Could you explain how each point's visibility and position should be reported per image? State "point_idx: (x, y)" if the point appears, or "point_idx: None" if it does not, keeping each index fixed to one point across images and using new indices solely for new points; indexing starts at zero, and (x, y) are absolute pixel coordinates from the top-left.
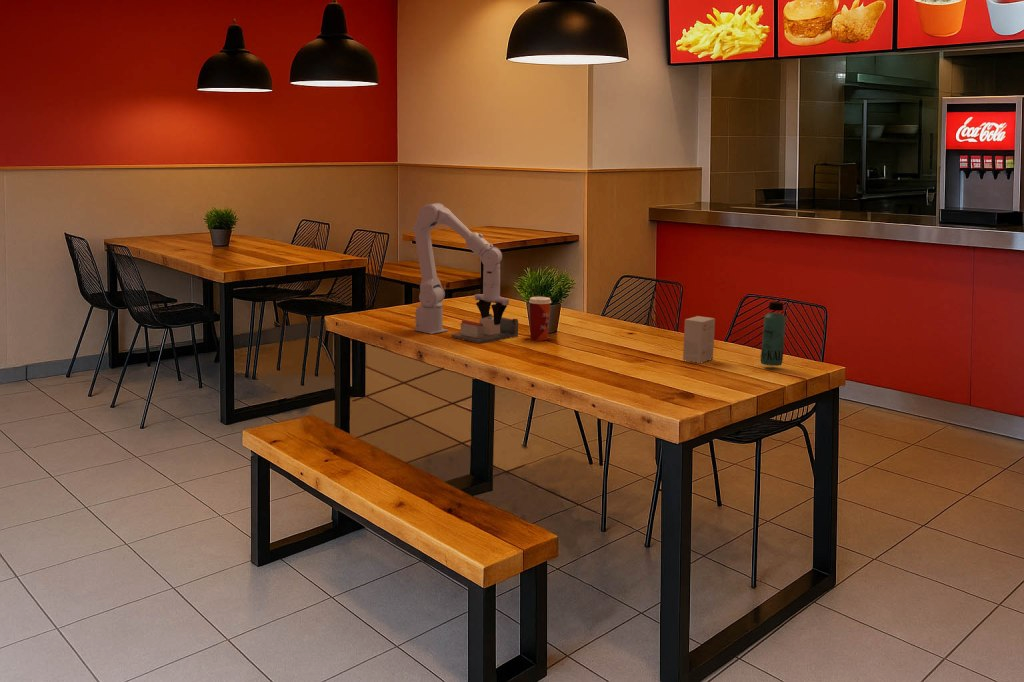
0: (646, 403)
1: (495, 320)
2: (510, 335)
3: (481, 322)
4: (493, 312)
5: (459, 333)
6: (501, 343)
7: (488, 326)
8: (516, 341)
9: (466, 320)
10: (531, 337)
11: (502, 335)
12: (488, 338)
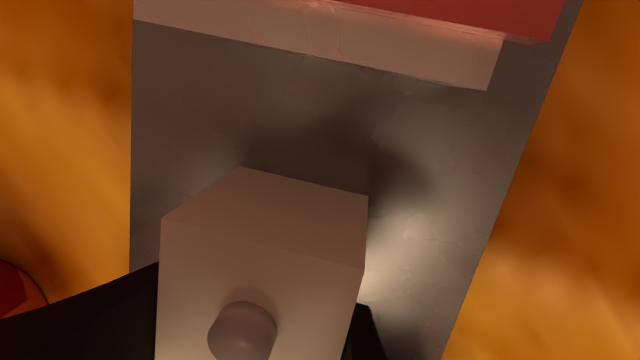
0: None
1: (132, 272)
2: (133, 257)
3: (330, 236)
4: (55, 339)
5: (535, 53)
6: (52, 35)
7: (224, 195)
8: (38, 168)
9: (474, 20)
10: (6, 276)
11: (154, 209)
12: (152, 26)
